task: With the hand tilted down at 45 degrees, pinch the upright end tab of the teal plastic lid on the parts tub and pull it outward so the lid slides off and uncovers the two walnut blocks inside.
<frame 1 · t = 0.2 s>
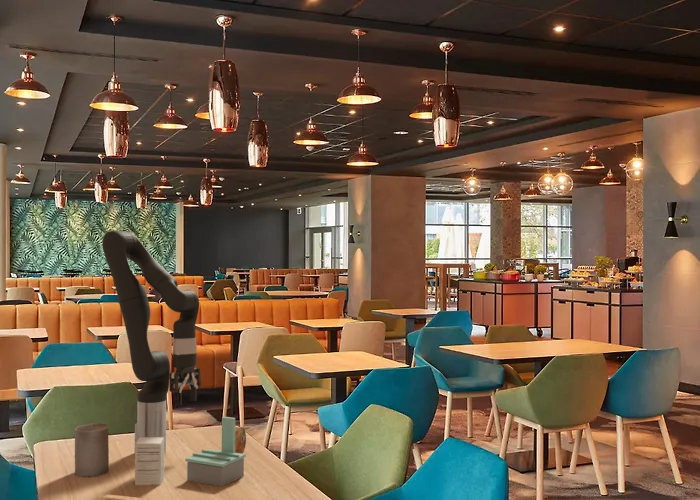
hand: (185, 402, 247), 18 cm above the table, tool pointing down, fingers open, 8 cm apart
pillar candle: (91, 473, 230), on the table
tub: (215, 480, 223), on the table
lid: (217, 440, 223), point 12 cm above the table, slide at 0.0 cm
walnut block b: (226, 477, 223), point 1 cm above the table, touching tub
tin: (234, 455, 251), on the table
walnut block a: (204, 478, 222), point 1 cm above the table, touching tub
supplement box: (149, 484, 219), on the table
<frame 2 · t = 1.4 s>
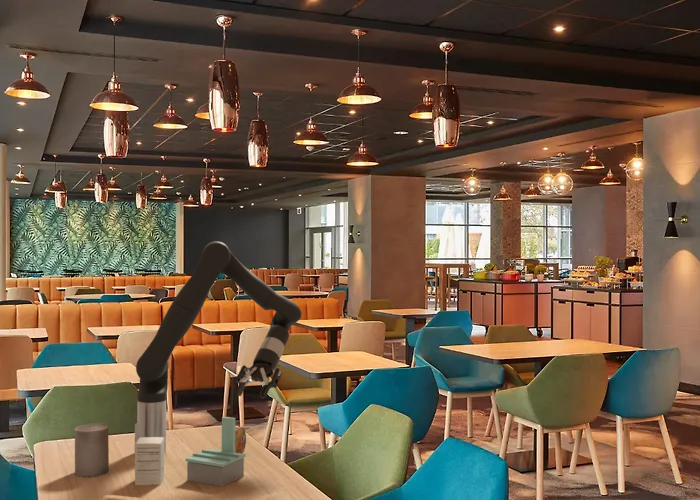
hand: (249, 395, 239), 22 cm above the table, tool tilted 45°, fingers open, 8 cm apart
nothing on the table moved.
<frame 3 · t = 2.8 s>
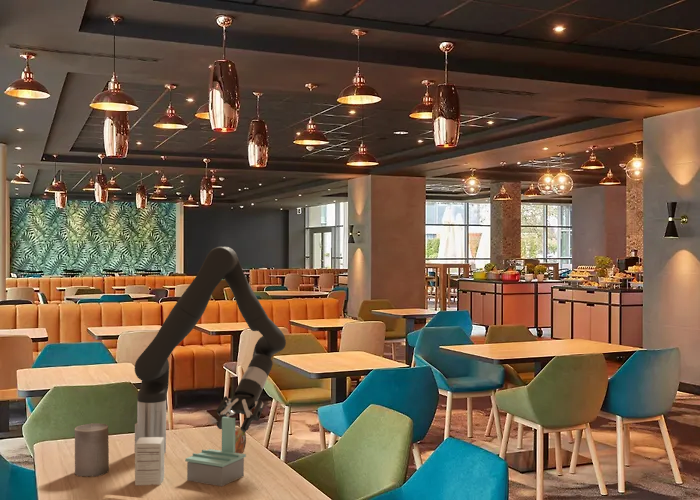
hand: (230, 429, 229), 13 cm above the table, tool tilted 45°, fingers open, 8 cm apart
nothing on the table moved.
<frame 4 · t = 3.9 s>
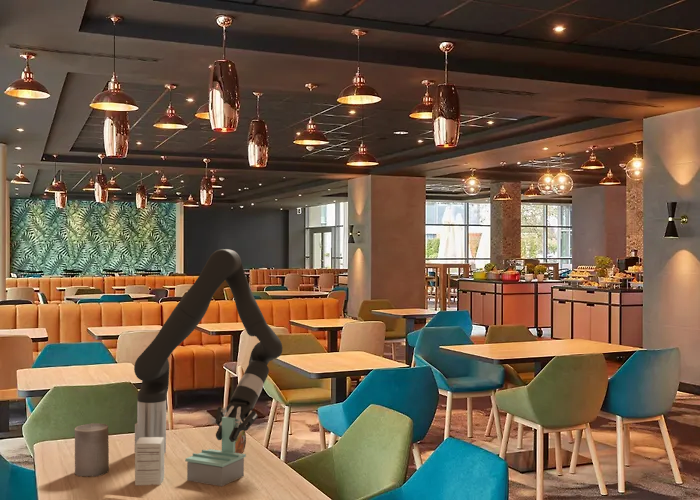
hand: (224, 439, 227), 11 cm above the table, tool tilted 45°, fingers closed on lid, 4 cm apart
lid: (217, 440, 223), point 12 cm above the table, slide at 0.0 cm, touching gripper
everything else where it was.
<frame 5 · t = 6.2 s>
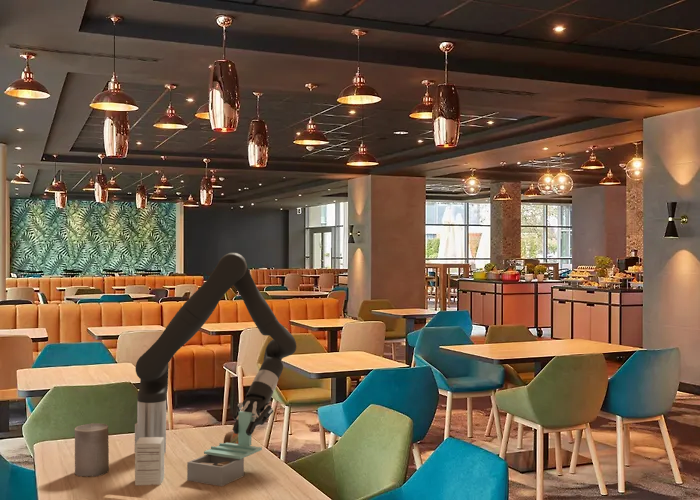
hand: (241, 433, 235), 11 cm above the table, tool tilted 45°, fingers closed on lid, 4 cm apart
lid: (234, 433, 231), point 12 cm above the table, slide at 8.9 cm, touching gripper
everything else where it was.
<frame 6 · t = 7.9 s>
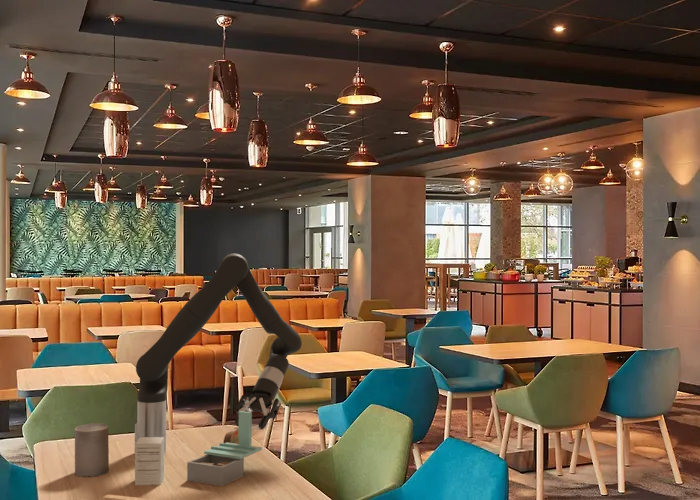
hand: (248, 426, 238), 12 cm above the table, tool tilted 45°, fingers open, 8 cm apart
lid: (234, 433, 231), point 12 cm above the table, slide at 9.0 cm
everything else where it was.
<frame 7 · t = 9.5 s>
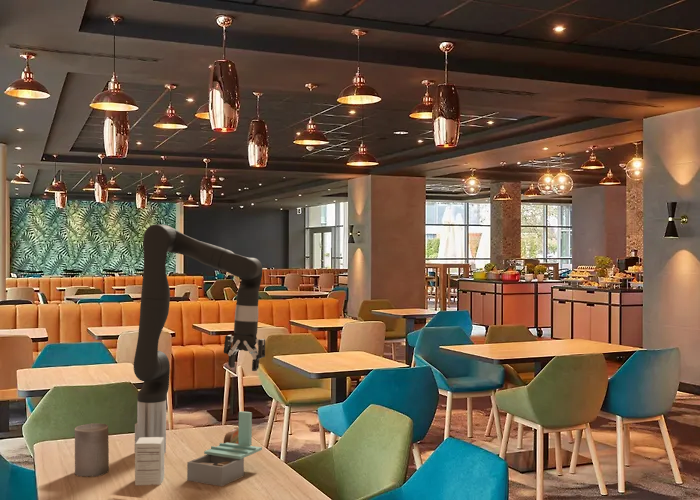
hand: (243, 369, 248), 29 cm above the table, tool pointing down, fingers open, 8 cm apart
nothing on the table moved.
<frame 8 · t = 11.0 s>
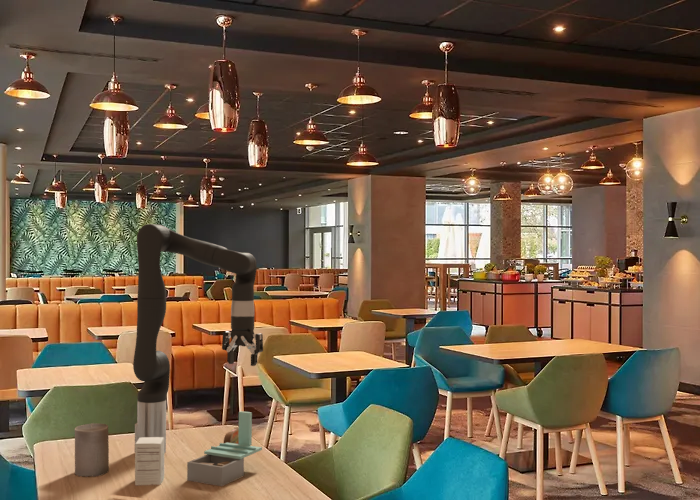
hand: (242, 364, 247), 30 cm above the table, tool pointing down, fingers open, 8 cm apart
nothing on the table moved.
at the end: lid slide at 9.0 cm; the gripper is holding nothing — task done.
